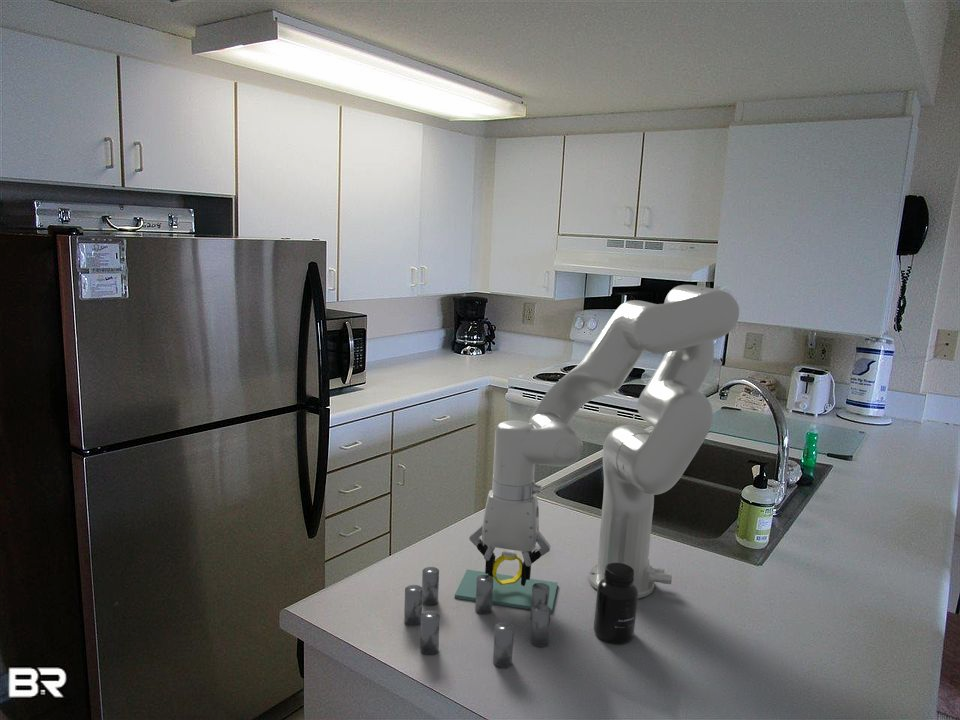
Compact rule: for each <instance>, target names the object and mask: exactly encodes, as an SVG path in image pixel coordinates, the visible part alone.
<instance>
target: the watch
mask: <svg viewBox="0 0 960 720" xmlns="http://www.w3.org/2000/svg"><path fill="white" fill-rule="evenodd" d="M514 560H518V563H519V565H518V566H519V569H518V571H517V572H516V574H515V575H513V576H514V577H513V578H512V579H507V580H501V581H500V580H499V579H497V576H496V574H497V572H498V571H497V570H498V568H499V566H500V565H501V564H502V563H503V562H504V561H514ZM523 562H524V561H522V559H521V558H520V556H518V555H517V553H516V552H515V551H514V550H503V551H502V552H501V555H500V556H499V557H497V558H495V562H494V564H493V568H492V574H493V577H494V579H495V580H496V581H497V582H498V583H499V584H500V585H506V584H513V583H516V582H517V581H518V580H519V579H520V578H521V575H522V565H523Z"/></svg>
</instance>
